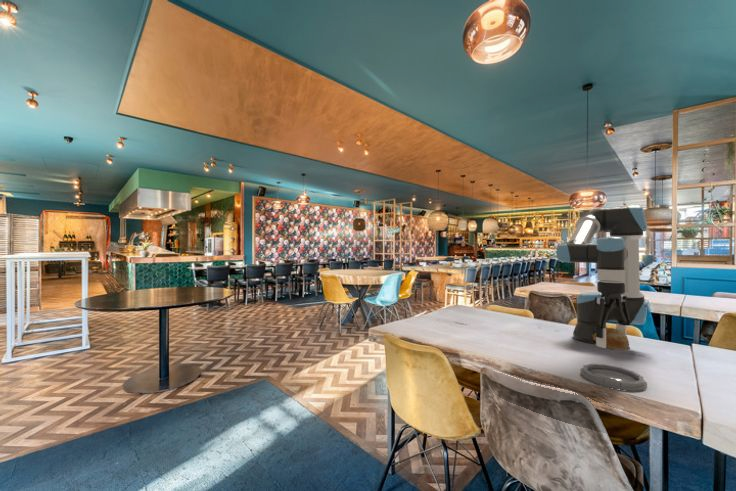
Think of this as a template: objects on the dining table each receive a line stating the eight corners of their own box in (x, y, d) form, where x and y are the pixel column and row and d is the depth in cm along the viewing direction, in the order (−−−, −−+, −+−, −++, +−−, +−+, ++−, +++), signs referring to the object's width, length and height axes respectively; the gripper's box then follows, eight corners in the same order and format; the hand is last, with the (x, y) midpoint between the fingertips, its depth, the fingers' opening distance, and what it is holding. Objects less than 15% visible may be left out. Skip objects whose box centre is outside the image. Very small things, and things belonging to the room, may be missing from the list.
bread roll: (625, 362, 99) (639, 342, 97) (590, 344, 104) (602, 325, 102) (620, 353, 107) (632, 334, 106) (588, 337, 112) (599, 319, 111)
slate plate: (600, 366, 117) (600, 360, 117) (659, 385, 100) (659, 379, 100) (568, 373, 110) (568, 367, 110) (625, 395, 93) (625, 388, 93)
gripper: (619, 279, 113) (619, 338, 113) (577, 281, 105) (578, 345, 104) (643, 281, 106) (644, 344, 106) (601, 284, 98) (601, 352, 97)
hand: (611, 345), depth 105 cm, fingers closed on bread roll, 10 cm apart
